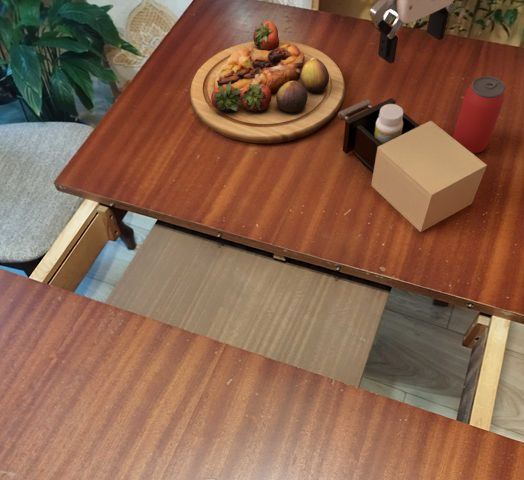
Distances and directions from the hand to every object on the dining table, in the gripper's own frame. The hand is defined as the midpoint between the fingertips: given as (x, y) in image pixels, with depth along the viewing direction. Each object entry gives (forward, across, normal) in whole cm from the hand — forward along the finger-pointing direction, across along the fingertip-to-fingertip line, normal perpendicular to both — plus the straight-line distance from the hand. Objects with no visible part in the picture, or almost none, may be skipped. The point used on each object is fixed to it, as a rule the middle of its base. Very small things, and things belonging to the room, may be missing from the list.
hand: (410, 47), depth 84 cm
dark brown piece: (+20, -2, +2) cm, 20 cm away
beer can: (+21, +14, -6) cm, 26 cm away
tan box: (+21, -2, -11) cm, 24 cm away
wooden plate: (+20, -9, +29) cm, 37 cm away
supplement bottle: (+19, -2, 0) cm, 19 cm away
